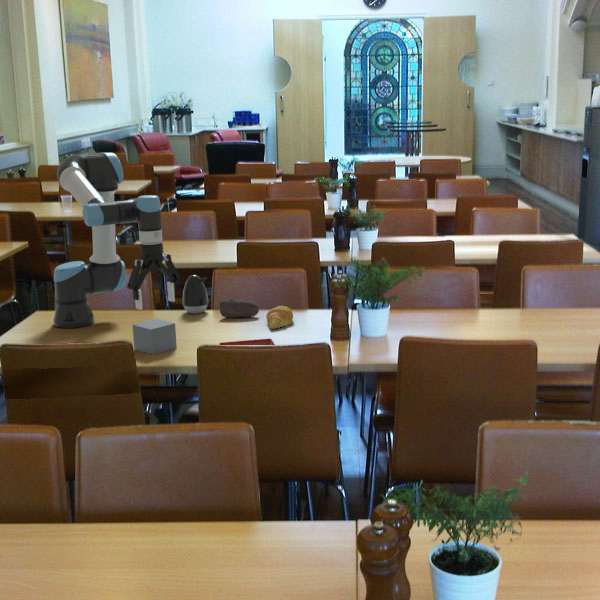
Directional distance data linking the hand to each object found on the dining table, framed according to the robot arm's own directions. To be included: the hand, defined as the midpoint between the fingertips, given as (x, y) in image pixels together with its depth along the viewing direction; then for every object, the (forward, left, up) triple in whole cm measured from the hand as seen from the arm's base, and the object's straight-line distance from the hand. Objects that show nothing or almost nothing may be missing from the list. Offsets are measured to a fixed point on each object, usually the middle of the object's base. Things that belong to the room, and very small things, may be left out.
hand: (155, 305), depth 293 cm
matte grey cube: (-2, 0, -16) cm, 16 cm away
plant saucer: (+30, +14, -16) cm, 37 cm away
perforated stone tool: (-10, +47, -16) cm, 51 cm away
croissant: (+9, +50, -16) cm, 53 cm away
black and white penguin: (-30, +42, -16) cm, 54 cm away
